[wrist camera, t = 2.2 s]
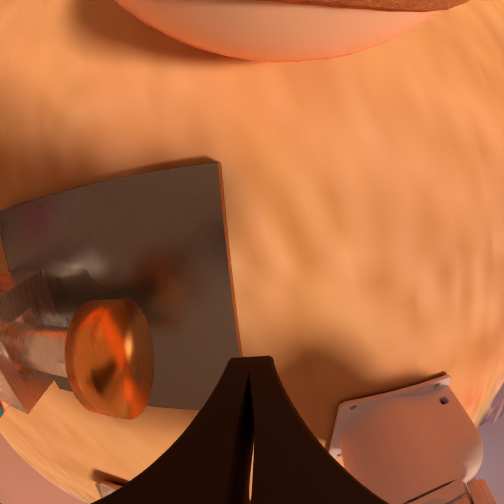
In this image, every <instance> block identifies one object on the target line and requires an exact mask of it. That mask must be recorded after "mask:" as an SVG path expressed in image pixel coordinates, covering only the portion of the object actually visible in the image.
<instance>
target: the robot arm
mask: <svg viewBox="0 0 504 504" xmlns="http://www.w3.org/2000/svg"><path fill="white" fill-rule="evenodd" d="M450 380H451V377H450V376H449V375H444V376H441V377H438V378H435V379H432V380H429V381H426V382H423V383H420V384H416V385H413V386H409V387H406V388H402V389H399V390H395V391H391V392H387V393H383V394H378V395H374V396H369V397H365V398H360V399H354V400H349V401H345V402H342V403H341V404H340V405H339V407H338V412H337V417H336V421H335V426H334V430H333V435H332V439H331V443H330V447H329V451H327V450H326V449H325V448H324V447H323V446H322V444H321V443H320V442H319V441H318V440H317V438H316V437H315V436H314V435H313V433H312V432H311V431H310V429H309V428H308V427H307V425H306V424H305V422H304V421H303V419H302V418H301V417H300V415H299V414H298V412H297V410H296V409H295V407H294V406H293V404H292V402H291V400H290V398H289V397H288V395H287V393H286V391H285V389H284V387H283V385H282V383H281V381H280V379H279V376H278V374H277V371H276V368H275V365H274V361H273V358H272V357H271V356H259V357H238V358H231V359H230V360H229V361H228V363H227V366H226V368H225V370H224V372H223V374H222V376H221V378H220V380H219V382H218V383H217V385H216V387H215V389H214V390H213V392H212V393H211V395H210V397H209V398H208V400H207V401H206V403H205V404H204V406H203V407H202V409H201V410H200V412H199V413H198V414H197V416H196V417H195V418H194V420H193V421H192V422H191V424H190V425H189V426H188V428H187V429H186V430H185V431H184V432H183V434H182V435H181V436H180V437H179V438H178V439H177V440H176V441H175V442H174V443H173V445H172V446H171V447H170V448H169V449H168V450H167V451H166V452H165V453H163V454H162V455H161V456H160V457H159V458H158V459H157V460H156V461H155V462H154V463H153V464H151V465H150V466H149V467H148V468H147V469H145V470H144V471H143V472H142V473H140V474H139V475H138V476H136V477H135V478H133V479H132V480H131V481H129V482H128V483H126V484H125V485H123V486H122V487H120V488H119V489H117V490H116V491H114V492H112V493H111V494H109V495H107V496H105V497H103V498H101V499H99V500H97V501H95V502H93V503H91V504H249V483H250V472H251V463H252V454H253V445H254V461H253V480H252V496H251V504H496V502H495V500H494V498H493V496H492V494H491V492H490V490H489V488H488V486H487V484H486V482H485V481H484V479H477V480H476V478H473V479H471V478H472V477H473V476H474V475H475V474H476V473H477V471H478V469H479V468H480V465H481V463H482V458H483V444H482V440H481V436H480V434H479V432H478V430H477V428H476V427H475V425H474V423H473V422H472V420H471V419H470V417H469V416H468V414H467V413H466V411H465V410H464V408H463V407H462V405H461V404H460V402H459V401H458V399H457V398H456V396H455V395H454V393H453V392H452V391H451V389H450V388H449V386H448V384H449V382H450ZM339 457H342V458H343V462H344V467H345V468H343V467H342V466H341V465H340V464H339V463H338V462H337V461H336V460H335V459H334V458H339ZM470 479H471V480H470ZM469 480H470V481H469ZM467 481H469V482H467ZM466 482H467V486H468V488H469V490H468V488H467V486H466V484H465V483H466ZM469 491H470V493H469ZM0 504H1V503H0Z"/></svg>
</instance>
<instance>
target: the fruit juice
mask: <svg viewBox="0 0 504 504" xmlns="http://www.w3.org/2000/svg"><path fill="white" fill-rule="evenodd" d="M8 407H9V404H7V403H5V402H3V401H1V400H0V418H1V416H2V415H3V414H4V412H5V411H6V410H7V408H8Z"/></svg>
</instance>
